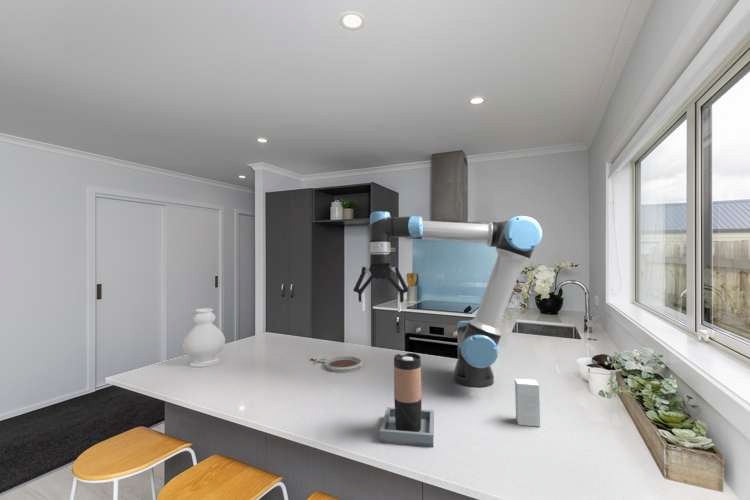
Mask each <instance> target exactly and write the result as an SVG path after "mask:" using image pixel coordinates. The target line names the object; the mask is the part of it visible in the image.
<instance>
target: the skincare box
mask: <svg viewBox="0 0 750 500" xmlns="http://www.w3.org/2000/svg"><path fill="white" fill-rule="evenodd" d="M514 390H515V391H514V393H515V398H514V399H515V420H516V422H517V425H519V426H526V427H527V426H529V427H537V428H538V427H541V407H540V406H541V403H540V402H541V401H540V384H539V383H538V381H537V380H536V379H528V378H527V379H525V378H524V379H523V378H514Z"/></svg>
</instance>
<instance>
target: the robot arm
mask: <svg viewBox="0 0 750 500" xmlns="http://www.w3.org/2000/svg"><path fill="white" fill-rule="evenodd" d="M391 238H403V239H406V240H413V239H414V240H425V241H426V240H427V241H440V242H441V241H443V242H456V243H470V244H471V243H473V244H483V245H484V244H485V245H487V246H488V247H491V248H495V251H496V254H497V258H496V260H495V263H494V265H493V267H492V270H491V274H490V276H489V279H488V281H487V283H486V287H485V289H484V293H483V295H482V296H481V297H482V298H481V301H480V303H479V306H478V309H477V311H476V314H475V316H474V318H473V319H469V320H459V321H458V322H457V326H456V330H457V361H456V363H455V368H454V371H453V380H454V381H455V382H456V383H458V384H459V385H463V386H466V387H467V386H468V387H473V388H474V387H475V388H483V387H489V386H492V385H493V384H494V383H495V378H494V372H493V369H492V367H491V366H492V365H493V364H494V363H495V362H496V361H497V358H498V356H499V355H498V354H499V349H498V346H499V343H500V340H501V337H502V335H503V334H502V332H501V329H500V327H501V324H502V321H503V318H504V315H505V313H506V310H507V308H508V305H509V303H510V299H511V297H512V294H513V292H514V289H515V287H516V284H517V281H518V279H519V275H520V273H521V270H522V267H523V266H524V265H523V264H524V263H525V262H529V261H531V257H532V254H533V252H534V249H535V248H537V247H538V246H539V245H540V243H541V241H542V238H543V230H542V227H541V225H540V224H539V222H538V221H537V220H536V219H534V218H533V217H530V216H526V215H518V216H514V217H512V218H510V219H508V220H504V221H490V222H488V223H473V222H472V223H469V222H467V223H466V222H454V221H453V222H451V221H435V220H433V221H432V220H431V221H430V220H423V218H422V216H414V215H411V216H395V217H394V216H393V217H392V216H391V213H390V212H389V211H380V210H379V211H373V212H371V213H370V215H369V242H370V243H369V253H370V256H369V257H370V258H369V260H370V264H369V265H370V266H369V267H367V266H362V267H361V273H360V275H359V277H358V279H357V281H356V283H355V286H354V287H353V292H355V293H357V294H358V302H359V303H360V304H361V305H360V308H361V312H364V311H365V310H366V301H365V299H366V293H365V292H364V291H365V290H366V289H367V288H368V286H369V285H370V284H371V282H372V281H373V280H374V279H375V280H379V279H382V280H385V279H387V280H388V281H389V282H390V284H392V286H393V287H394V288H395V289H396V290H397V292H398V293H397V312H398V313H400V312H401V311H402V303H404V299H405V298H404V295H405V293H407V292H409V287H408V285H407V284H406V281H405V280H404V278H403V276H402V274H401V272H400V267H399V266H394V267H393V266H392V265H391V264H392V262H391V259H392V258H391V254H390V253H391ZM392 271H393V273H395V274H396V276H397V278H398V280H399V282H400V284H401V286H400V284H398V283H397V282H398V281H396V280H395V279H394V278H393V276H392V275H391V273H392ZM368 272H369V273H370V275H369V278H368V279H367V280H366V281H365V282H364V284H363V285H362V282H363V280H364V279H365V277H366V274H367V273H368ZM361 285H362V286H361Z"/></svg>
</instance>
